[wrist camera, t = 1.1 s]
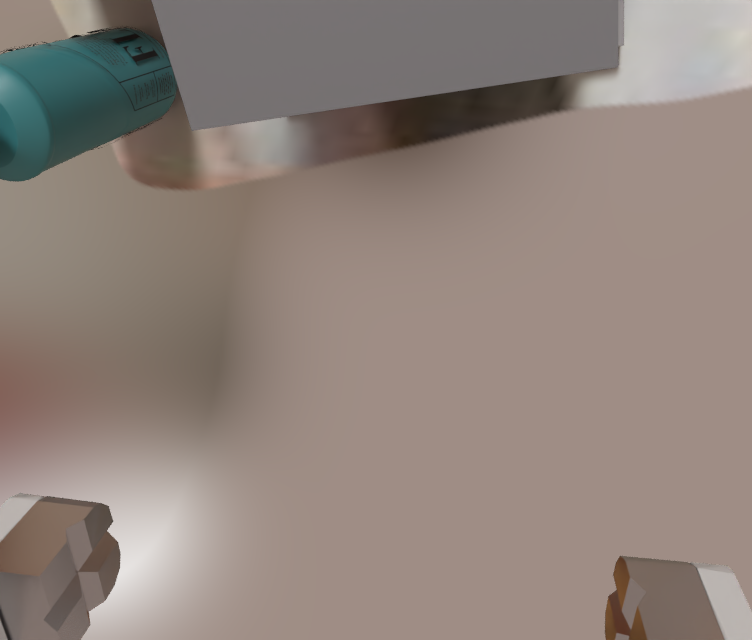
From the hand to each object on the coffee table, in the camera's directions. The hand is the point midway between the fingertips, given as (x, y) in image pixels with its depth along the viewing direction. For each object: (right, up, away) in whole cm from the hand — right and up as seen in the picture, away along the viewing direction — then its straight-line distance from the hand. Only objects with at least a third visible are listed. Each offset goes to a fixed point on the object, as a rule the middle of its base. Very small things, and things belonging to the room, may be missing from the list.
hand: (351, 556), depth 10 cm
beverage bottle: (-16, +22, +36) cm, 45 cm away
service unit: (+4, +24, +29) cm, 38 cm away
